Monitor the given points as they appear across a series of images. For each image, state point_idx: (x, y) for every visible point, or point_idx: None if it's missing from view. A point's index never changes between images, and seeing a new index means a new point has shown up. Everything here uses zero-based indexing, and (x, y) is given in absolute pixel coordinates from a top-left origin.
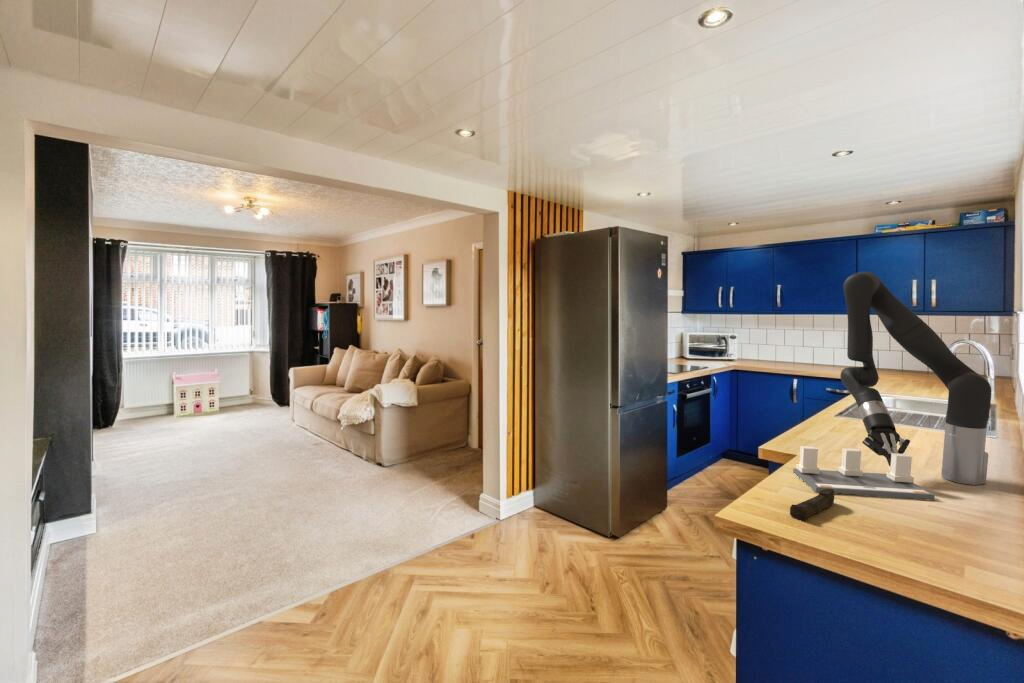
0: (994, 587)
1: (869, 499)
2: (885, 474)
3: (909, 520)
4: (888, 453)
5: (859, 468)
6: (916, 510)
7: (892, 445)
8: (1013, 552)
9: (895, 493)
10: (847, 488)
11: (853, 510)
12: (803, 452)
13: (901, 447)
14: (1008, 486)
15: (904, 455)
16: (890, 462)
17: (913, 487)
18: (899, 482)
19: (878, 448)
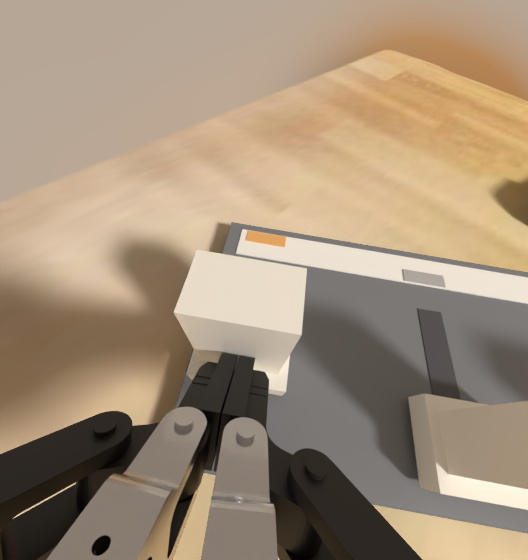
0: (384, 60)
1: (429, 245)
2: None
3: (387, 157)
4: (263, 431)
5: (449, 410)
6: (338, 189)
7: (167, 500)
8: (291, 88)
9: (349, 244)
10: (502, 274)
11: (491, 196)
12: None
13: (46, 476)
14: None
15: (233, 274)
16: (268, 387)
17: None
18: None
19: (360, 503)
